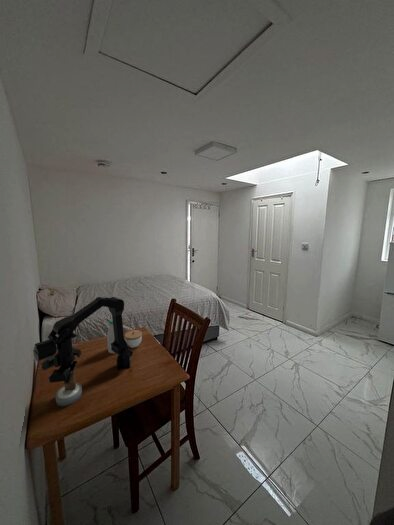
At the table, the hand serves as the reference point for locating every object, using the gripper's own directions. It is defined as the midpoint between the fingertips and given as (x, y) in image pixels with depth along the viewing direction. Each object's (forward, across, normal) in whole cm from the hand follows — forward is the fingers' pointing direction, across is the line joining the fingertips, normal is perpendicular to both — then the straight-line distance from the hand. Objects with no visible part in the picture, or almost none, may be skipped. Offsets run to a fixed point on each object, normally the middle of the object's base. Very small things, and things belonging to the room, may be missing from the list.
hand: (68, 381), depth 93 cm
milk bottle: (+8, -35, +13) cm, 38 cm away
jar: (+8, 0, 0) cm, 8 cm away
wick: (+4, 0, +1) cm, 4 cm away
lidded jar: (+8, -39, +24) cm, 46 cm away
